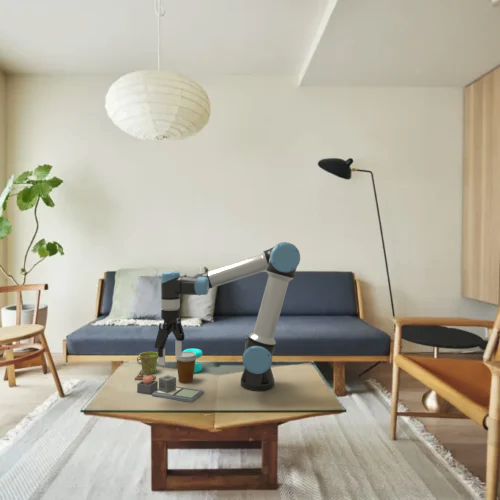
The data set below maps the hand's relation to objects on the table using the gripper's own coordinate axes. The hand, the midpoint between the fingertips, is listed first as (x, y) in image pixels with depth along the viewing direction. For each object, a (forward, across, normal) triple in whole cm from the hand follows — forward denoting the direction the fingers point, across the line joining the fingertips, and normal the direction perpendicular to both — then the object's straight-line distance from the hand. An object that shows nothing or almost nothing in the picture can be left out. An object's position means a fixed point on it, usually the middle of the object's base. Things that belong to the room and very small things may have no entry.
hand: (170, 360), depth 163 cm
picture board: (+14, 0, +4) cm, 14 cm away
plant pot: (+14, -20, -23) cm, 33 cm away
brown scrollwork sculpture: (+14, -11, -19) cm, 26 cm away
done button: (+11, +1, -10) cm, 15 cm away
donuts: (+14, -30, -5) cm, 33 cm away
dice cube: (+13, 0, -1) cm, 13 cm away
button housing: (+14, +1, -10) cm, 17 cm away
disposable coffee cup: (+14, -16, -1) cm, 21 cm away
